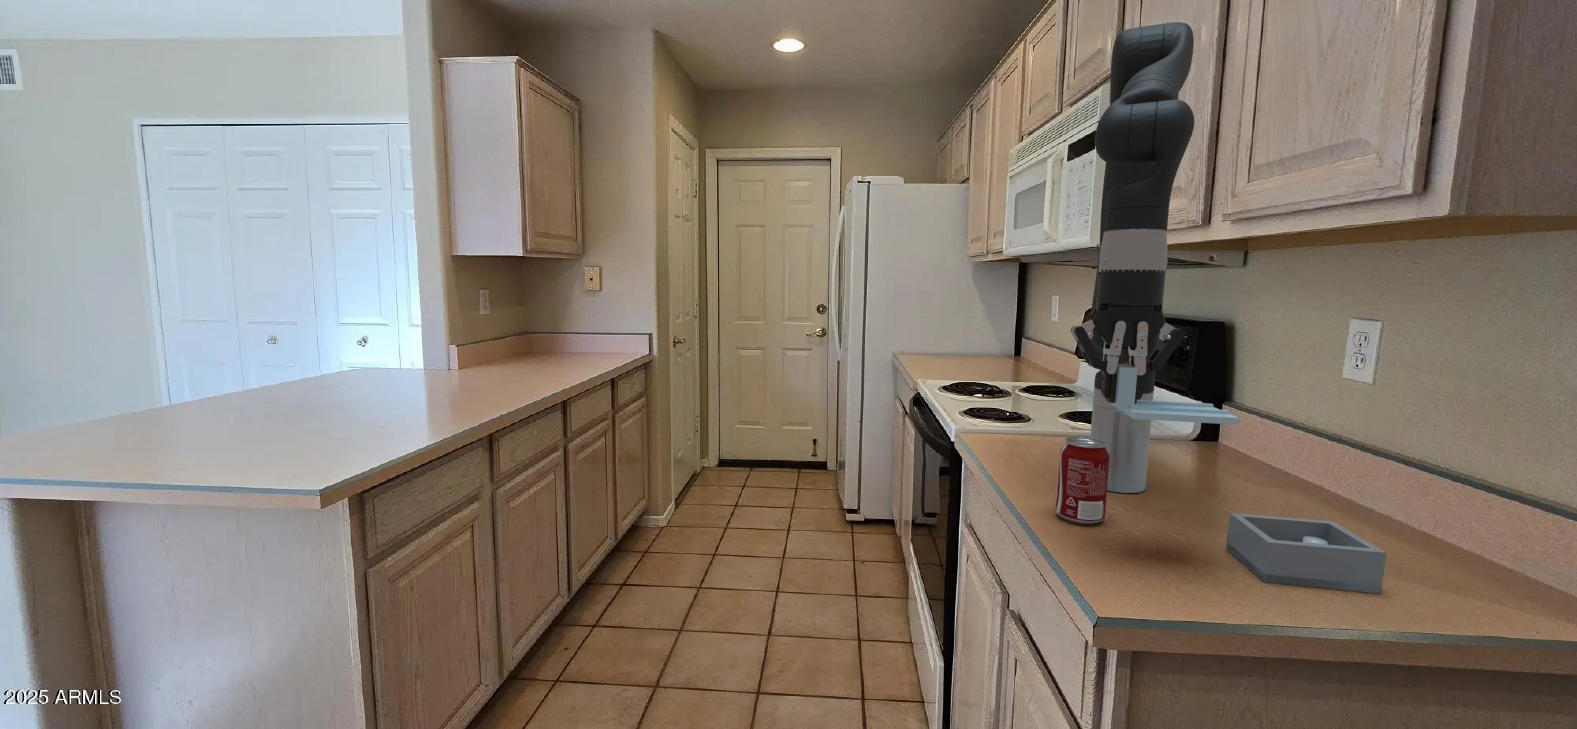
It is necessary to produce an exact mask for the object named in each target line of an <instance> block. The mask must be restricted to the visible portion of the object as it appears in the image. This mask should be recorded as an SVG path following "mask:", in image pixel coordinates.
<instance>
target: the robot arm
mask: <svg viewBox="0 0 1577 729" xmlns="http://www.w3.org/2000/svg"><path fill="white" fill-rule="evenodd" d="M1194 42H1195V38H1194V32H1193V29H1192V27H1191V26H1190V24H1188V23H1186V22H1180V21H1179V22H1178V21H1176V22H1175V21H1173V22H1172V21H1171V22H1166V23H1158V24H1152V25H1145V26H1139V27H1133V28H1126V29H1123V30H1121V31H1119V33H1118V34H1117V36H1116V38H1115V40H1114V42H1113V46H1112V52H1111V60H1110V85H1109V86H1110V89H1109V92H1110V93H1109V106H1108V107H1107V108H1106V110H1104V112H1103V113H1102V116H1100V118H1099V121H1098V122H1097V126H1096V129H1095V132H1094V148H1095V151H1096V154H1097V155H1098V157H1099V158H1100V160H1103V161H1104V162H1105V167H1104V168H1105V169H1104V175H1103V185H1102V193H1101V205H1100V206H1101V208H1100V225H1099V226H1100V229H1099V249H1098V259H1097V266H1096V267H1097V269H1096V274H1095V275H1096V276H1095V282H1094V288H1093V296H1092V304H1091V309H1090V319H1089V320H1087V321H1086V322H1083V323H1082V324H1079V325H1073V326H1072V327H1071V328H1070V332H1071V335H1072V336H1073V338H1074V340H1075V342H1076V344H1077V346H1078V348H1079V350H1080V352H1081V353H1082V356H1083V358H1084V359H1085V361H1086V363H1087V365H1088V366H1089V367H1092V368H1094V369H1096V370H1099V371H1097V372H1096V373H1095V375H1094V384H1093V396H1092V397H1093V399H1092V413H1091V425H1090V437H1089V438H1092V439H1097V440H1101V441H1103V442H1105V443H1106V446H1105V449H1106V450H1107V452H1108V454H1109V455H1110V460H1109V472H1108V484H1107V492H1108V491H1109V492H1114V493H1123V494H1136V493H1137V494H1138V493H1143V491H1145V489H1146V484H1147V473H1148V471H1147V470H1148V464H1149V462H1148V461H1149V452H1150V441H1151V440H1150V438H1151V429H1152V428H1151V426H1152V420H1144V419H1133V418H1132V417H1130V416H1128V415H1127V414H1125V413H1124V412H1122V411H1120V410H1119V409H1117V408H1116V407H1114V406H1113V405H1111V404H1110V403H1115V398H1116V386H1117V375H1116V371H1117V365H1118V364H1119V359H1120V357H1121V353H1122V351H1128V355H1129V359H1128V360H1127V361H1125V362H1123V363H1122V364H1128V365H1131V366H1134V367H1136V368H1138V370H1137V381H1136V392H1135V404H1136V403H1137V400H1146V401H1154V392H1155V382H1156V372H1159V371H1160V370H1162V368H1163V367H1164V365H1165V364H1166V363H1167V361H1168V360H1169V358H1170V357H1171V356H1172V354H1173V353H1174V351H1175V350H1176V349H1177V347H1178V346H1179V345H1180V343H1181V342H1182V341H1183V340H1184V338H1185V336H1186V331H1185V330H1183V329H1180V328H1176V327H1174V326H1173V325H1171V324H1169V323H1167V322H1166V316H1165V315H1164V313H1163V312H1164V311H1163V306H1164V305H1163V304H1164V293H1165V281H1166V274H1167V273H1166V272H1167V266H1168V263H1169V262H1168V232H1167V231H1168V224H1169V212H1170V203H1171V196H1172V190H1173V186H1174V184H1175V183H1174V182H1175V179H1176V176H1177V173H1178V170H1179V168H1180V164H1181V162H1182V160H1183V158H1184V156H1185V153H1186V150H1187V148H1188V146H1189V144H1190V142H1191V138H1192V136H1193V134H1194V129H1195V116H1194V112H1193V110H1192V108H1191V106H1190V105H1189V104H1188V103H1187V102H1186V101H1184V100H1182V99H1179V95H1180V94H1179V93H1180V91H1181V89H1182V88H1183V86H1184V85H1185V82H1186V80H1187V79H1188V76H1189V74H1190V71H1191V66H1192V63H1193V62H1192V61H1193V55H1194V44H1195V43H1194ZM1096 349H1100V350H1102V353H1103V356H1102V359H1101V358H1100V356H1099V354H1098V352H1097V350H1096Z"/></svg>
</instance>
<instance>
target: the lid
mask: <svg viewBox="0 0 1577 729" xmlns="http://www.w3.org/2000/svg"><path fill="white" fill-rule="evenodd" d="M1137 370H1138V368H1136V367H1134V366H1131V365H1128V364H1123V363H1118V365H1117V371H1116V375H1117V386H1116V398H1115V403H1110V404H1111V405H1113V406H1114V407H1116V408H1117V409H1119V410H1120V411H1122V412H1124V413H1125V414H1127V415H1128V416H1130V417H1132V418H1133V419H1144V420H1151V421H1165V422H1167V421H1168V422H1185V423H1199V424H1200V423H1202V424H1204V423H1205V424H1218V425H1221V424H1222V425H1236V426H1237V425H1238V426H1239V425H1240V422H1241V418H1240V417H1238V416H1236V415H1234V414H1231V413H1230V412H1231V411H1230V410H1228V409H1220V408H1217V407H1214V404H1213V403H1207V402H1203V403H1202V402H1187V401H1186V402H1185V401H1183V402H1181V401H1167V400H1166V401H1163V400H1153V401H1146V400H1137V403H1136V404H1135V392H1136V381H1137Z"/></svg>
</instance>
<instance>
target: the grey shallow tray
mask: <svg viewBox="0 0 1577 729" xmlns="http://www.w3.org/2000/svg"><path fill="white" fill-rule="evenodd" d="M1227 527H1228V528H1227V538H1226V546H1225V549H1226V550H1227V552H1230V554H1232V555H1233V556H1234V557H1235V558H1236V559H1237V560H1238V561H1239V562H1241V563H1242V564H1243V565H1244V566H1245V567H1246V568H1247V569H1248V570H1249V571H1250V572H1252V573H1253V574H1254V575H1255V576H1257V578H1259V580H1261V581H1262V582H1263V583H1270V584H1279V585H1289V586H1297V587H1298V586H1299V587H1307V588H1308V587H1309V588H1319V589H1328V590H1329V589H1330V590H1337V591H1338V590H1339V591H1350V592H1357V593H1358V592H1359V593H1369V594H1378V595H1379V594H1380V595H1381V593H1382V588H1383V587H1382V586H1383V581H1384V573H1385V567H1386V561H1387V552H1386V551H1384V550H1383V549H1381V548H1379V547H1378V546H1376V545H1374V544H1372V543H1371V542H1369V541H1367V540H1365V539H1364V538H1362V537H1361V536H1360V535H1357V534H1355V532H1352V531H1351V530H1349V529H1348V528H1345V527H1343V526H1342V525H1340V524H1338V523H1336V522H1335V521H1333V520H1321V519H1320V520H1318V519H1308V518H1296V517H1294V518H1293V517H1283V516H1271V515H1260V514H1259V515H1257V514H1246V513H1245V514H1244V513H1236V512H1235V513H1232V512H1229V519H1228V526H1227Z"/></svg>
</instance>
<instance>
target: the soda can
mask: <svg viewBox="0 0 1577 729" xmlns="http://www.w3.org/2000/svg"><path fill="white" fill-rule="evenodd" d="M1105 446H1106V443H1105V442H1103V441H1101V440H1097V439H1092V438H1090V437H1086V436H1071V437H1069V436H1068V437H1066V438H1065V444H1064V445H1063V446H1062V447H1061V448H1060V450H1059V457H1058V458H1059V459H1058V460H1059V461H1058V471H1057V472H1058V474H1057V475H1058V476H1057V489H1056V502H1055V512H1056V514H1057V515H1058V516H1060V517H1061V518H1062V519H1063V520H1065V521H1068V522H1070V523H1072V522H1073V523H1072V524H1076V523H1077V525H1083V526H1086V525H1087V526H1089V525H1095V524H1098V523H1101V522H1102V521H1104V520H1105V517H1106V507H1107V496H1108V495H1107V493H1108V490H1107V484H1108V472H1109V460H1110V455H1109V454H1108V452H1107V450H1106V449H1105Z"/></svg>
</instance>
